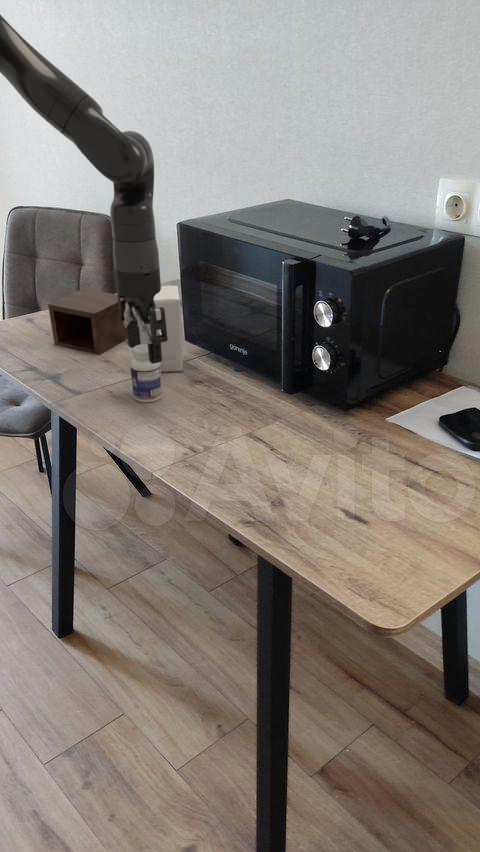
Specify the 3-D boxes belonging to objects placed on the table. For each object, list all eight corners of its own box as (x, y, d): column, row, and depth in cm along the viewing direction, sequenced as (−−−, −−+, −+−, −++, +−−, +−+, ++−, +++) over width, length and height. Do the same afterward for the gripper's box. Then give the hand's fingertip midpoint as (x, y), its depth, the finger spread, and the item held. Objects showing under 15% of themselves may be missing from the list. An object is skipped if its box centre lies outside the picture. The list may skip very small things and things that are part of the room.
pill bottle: (134, 391, 134) (129, 342, 128) (162, 390, 134) (159, 342, 129) (132, 403, 129) (127, 354, 124) (162, 402, 130) (158, 353, 125)
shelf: (99, 354, 148) (94, 313, 143) (54, 344, 152) (47, 304, 147) (132, 336, 157) (128, 296, 152) (88, 326, 161) (83, 288, 156)
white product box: (184, 372, 141) (180, 299, 133) (138, 374, 140) (132, 300, 132) (182, 354, 149) (178, 284, 141) (139, 356, 148) (133, 285, 140)
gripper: (98, 257, 121) (109, 346, 130) (135, 278, 112) (143, 372, 120) (138, 251, 125) (146, 337, 134) (176, 271, 115) (182, 363, 124)
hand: (145, 354), depth 127 cm, fingers open, 8 cm apart
